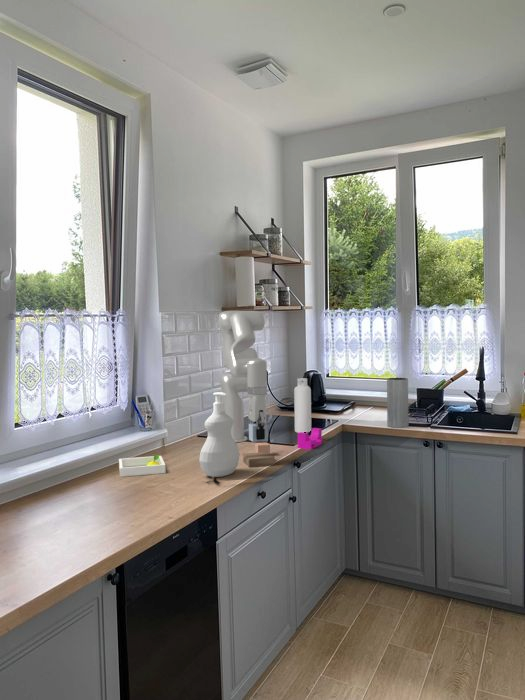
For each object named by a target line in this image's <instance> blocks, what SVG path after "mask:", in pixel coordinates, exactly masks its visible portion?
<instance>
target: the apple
mask: <svg viewBox="0 0 525 700" xmlns="http://www.w3.org/2000/svg"><path fill="white" fill-rule="evenodd" d="M153 456H154V461H155V460H157V459H158V458H159V456H160V455H159V454H155V455H153ZM154 461H153V462H149V463H148V464H147V465H146V466H149V465H160V464H159V463H157V462H154Z"/></svg>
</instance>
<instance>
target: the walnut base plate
mask: <svg viewBox="0 0 525 700" xmlns="http://www.w3.org/2000/svg"><path fill="white" fill-rule="evenodd" d="M275 458H276V457H275V456H273V455H272V454H271V453H270V454H269V453H268V452H260V453H255V452H252V453H251V452H250V453H243V454H242V463H244V464H245V465H246V466H247V467H248V468H256V467H267V466H275V465H276V462H275V460H276V459H275Z"/></svg>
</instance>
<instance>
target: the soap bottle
mask: <svg viewBox="0 0 525 700" xmlns="http://www.w3.org/2000/svg"><path fill="white" fill-rule="evenodd" d="M212 395H213V396H214V397H215V398H214V399H215V402H213V406H212V407H213V411H212V414H211V415H210V416H208V418H207V419H206V420H205V421H204V428H205V429H206V431H207V437H206V439H205V442H204V443H203V446H202V448H201V450H200V453H199V459H198V460H199V466H200V470H202V471H203V473H204V474H205V475H206V476H207V477H213V478H223V477H226V476H229V475H231V474H233V473H235V471H236V469H237V467H238V465H239V461H240V455H241V454H240V450H239V446H238V444H237V442H235V441H234V439H233V438H232V435H231V428H232V426H233V419H232V418H231V417H230V416H229V415H227V414H226V413H225V411H224V402H223V397H222V396H227V395H226V394H225V393H223V392H222V391H220V392H219V391H217V392H213V394H212Z"/></svg>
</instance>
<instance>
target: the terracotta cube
mask: <svg viewBox="0 0 525 700" xmlns="http://www.w3.org/2000/svg"><path fill="white" fill-rule="evenodd" d="M260 452H268V453H269V454H271V444H270V443H268V441H264V442H254V453H260Z"/></svg>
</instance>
